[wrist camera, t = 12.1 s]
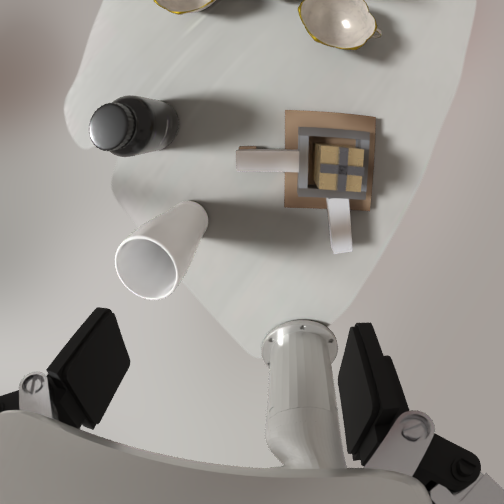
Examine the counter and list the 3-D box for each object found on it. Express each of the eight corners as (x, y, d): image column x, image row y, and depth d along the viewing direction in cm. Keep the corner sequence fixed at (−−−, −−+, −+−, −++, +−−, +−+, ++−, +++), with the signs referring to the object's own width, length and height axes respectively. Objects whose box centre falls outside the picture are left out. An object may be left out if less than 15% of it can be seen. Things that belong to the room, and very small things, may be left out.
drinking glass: (201, 186, 37) (156, 223, 23) (222, 232, 39) (192, 290, 26) (159, 205, 39) (101, 249, 25) (180, 248, 41) (136, 308, 27)
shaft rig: (362, 243, 38) (370, 255, 35) (242, 240, 40) (238, 251, 36) (372, 117, 31) (382, 116, 28) (239, 110, 33) (235, 109, 29)
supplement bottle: (186, 140, 35) (146, 148, 24) (141, 157, 36) (91, 173, 25) (172, 92, 32) (127, 81, 21) (127, 111, 33) (73, 112, 22)
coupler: (347, 180, 34) (362, 193, 27) (312, 178, 34) (319, 190, 28) (349, 145, 32) (365, 149, 26) (313, 142, 32) (321, 145, 26)
